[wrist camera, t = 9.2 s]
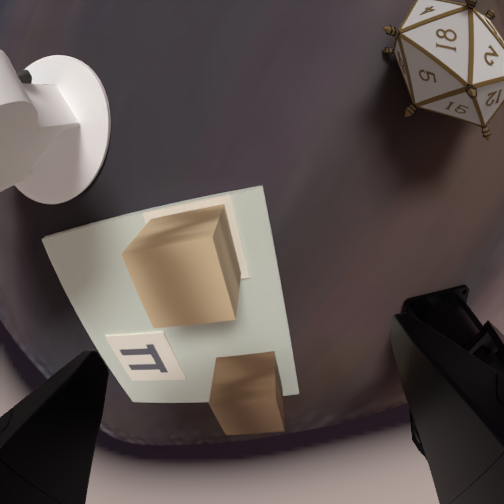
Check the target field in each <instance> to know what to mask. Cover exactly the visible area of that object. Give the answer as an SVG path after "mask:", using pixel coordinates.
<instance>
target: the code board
mask: <svg viewBox="0 0 504 504" xmlns="http://www.w3.org/2000/svg"><path fill="white" fill-rule="evenodd" d="M221 204H224V205H225V209H226V214H227V218H228V222H229V226H230V230H231V234H232V238H233V242H234V246H235V251H236V255H237V259H238V263H239V267H240V271H241V278H240V287H239V296H238V304H237V313H236V320H230V321H221V322H213V323H204V324H194V325H185V326H174V327H164V328H153V326H152V324H151V322H150V320H149V317H148V315H147V313H146V311H145V309H144V306H143V304H142V302H141V300H140V298H139V295H138V293H137V291H136V288H135V286H134V284H133V281H132V279H131V276H130V274H129V272H128V269H127V267H126V264H125V262H124V259H123V257H122V253H123V252H124V250H125V249H126V248H127V247H128V245H129V244H130V243H131V242H132V241H133V239H134V238H135V237H136V236H137V235H138V234H139V232H140V231H141V230H142V229H143V228H144V226H145V225H146V224H147V223H148V222H149V221H150V220H151V219H154V218H158V217H163V216H167V215H172V214H177V213H181V212H186V211H191V210H196V209H201V208H206V207H211V206H216V205H221ZM41 240H42V242H43V244H44V247H45V249H46V251H47V254H48V256H49V258H50V261H51V263H52V265H53V267H54V269H55V272H56V274H57V276H58V278H59V280H60V282H61V284H62V286H63V288H64V290H65V292H66V294H67V296H68V298H69V300H70V302H71V304H72V306H73V308H74V310H75V311H76V313H77V315H78V317H79V319H80V320H81V322H82V324H83V326H84V328H85V329H86V331H87V333H88V334H89V336H90V338H91V340H92V341H93V343H94V345H95V346H96V348H97V349H98V351H99V353H100V354H101V356H102V357H103V359H104V361H105V362H106V364H107V365H108V367H109V368H110V370H111V371H112V373H113V374H114V376H115V377H116V379H117V380H118V382H119V383H120V384H121V386H122V387H123V389H124V390H125V392H126V393H127V394H128V396H129V397H130V398H131V400H132V401H133V402H149V403H196V402H209V399H210V392H211V386H212V380H213V374H214V367H215V361H216V358H217V357H227V356H237V355H246V354H255V353H263V352H271V351H274V352H275V356H276V361H277V365H278V369H279V374H280V378H281V383H282V388H283V396H288V395H295V394H299V388H298V382H297V375H296V369H295V363H294V357H293V351H292V345H291V339H290V333H289V327H288V321H287V315H286V309H285V304H284V298H283V292H282V286H281V281H280V275H279V270H278V264H277V259H276V253H275V248H274V242H273V237H272V231H271V226H270V221H269V216H268V210H267V205H266V200H265V195H264V190H263V185H262V186H256V187H251V188H245V189H240V190H235V191H229V192H224V193H219V194H214V195H209V196H204V197H199V198H195V199H190V200H185V201H181V202H176V203H172V204H167V205H163V206H158V207H154V208H150V209H146V210H141V211H137V212H133V213H129V214H125V215H121V216H117V217H113V218H109V219H105V220H101V221H98V222H94V223H90V224H87V225H83V226H79V227H76V228H72V229H68V230H65V231H61V232H58V233H55V234H51V235H48V236H45V237H44V238H42V239H41Z"/></svg>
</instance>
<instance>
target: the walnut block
mask: <svg viewBox="0 0 504 504" xmlns="http://www.w3.org/2000/svg"><path fill="white" fill-rule="evenodd" d="M209 405H210V407H211V409H212V411H213V413H214V415H215V416H216V418H217V420H218V422H219V424H220V425H221V427H222V429H223V431H224V432H225V434H226V435H241V434H257V433H269V432H279V431H284V409H283V388H282V383H281V378H280V374H279V369H278V365H277V361H276V356H275V352H274V351H271V352H263V353H255V354H246V355H237V356H227V357H217V358H216V361H215V367H214V374H213V380H212V386H211V392H210V399H209Z"/></svg>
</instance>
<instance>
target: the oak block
mask: <svg viewBox="0 0 504 504" xmlns="http://www.w3.org/2000/svg"><path fill="white" fill-rule="evenodd" d="M122 257H123V259H124V262H125V264H126V267H127V269H128V272H129V274H130V276H131V279H132V281H133V284H134V286H135V288H136V291H137V293H138V295H139V298H140V300H141V302H142V304H143V306H144V309H145V311H146V313H147V315H148V317H149V320H150V322H151V324H152V326H153V328H164V327H174V326H185V325H194V324H204V323H213V322H221V321H230V320H236V313H237V304H238V296H239V287H240V278H241V271H240V267H239V263H238V259H237V255H236V251H235V246H234V242H233V238H232V234H231V230H230V226H229V222H228V218H227V214H226V209H225V205H224V204H221V205H216V206H211V207H206V208H201V209H196V210H191V211H186V212H181V213H177V214H172V215H167V216H163V217H158V218H154V219H151V220H150V221H149V222H148V223H147V224H146V225H145V226H144V228H143V229H142V230H141V231H140V232H139V234H138V235H137V236H136V237H135V238H134V239H133V241H132V242H131V243H130V244H129V245H128V247H127V248H126V249H125V250H124V252H123V253H122Z"/></svg>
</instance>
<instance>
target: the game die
mask: <svg viewBox="0 0 504 504" xmlns="http://www.w3.org/2000/svg"><path fill="white" fill-rule="evenodd" d="M465 1H466V2H467V5H466V4H462V3H457V2H452V1H447V0H415V2H414V3H413V5H412V7H411V8H410V10H409V12H408V13H407V15H406V17H405V19H404V20H403V22H402V24H401V25H400V27H399V29H398V30H397V29H396V28H395V27H392V26H391V25H389V26H387V27H384V28H383V29H384V31H385V32H386V34H388V35H392V36H396V37H395V43H394V49H392V48H389V47H385V49H383V50H382V51H383V52H385V53H386V54H387V55H392V54H394V55H395V58H396V60H397V63H398V65H399V68H400V70H401V73H402V75H403V78H404V81H405V83H406V86H407V89H408V92H409V95H410V97H411V100H412V105H410V106H409V105H408V108H407V109H406V108H405V109H406V112H405V117H407V116H411V115H412V116H413V113H415V110H416V108H420V109H424V110H428V111H432V112H435V113H439V114H442V115H446V116H449V117H453V118H456V119H459V120H462V121H465V122H468V123H471V124H474V125H477V126H480V127H481V128H482V133H483V137H485V138H486V140H487V141H488V142H489V140H490V135H491V134H490V132H489V131H490V130H488V128H487V124H488V123H489V121H490V120H491V119H492V118H493V116H494V115H495V114H496V112H497V111H498V109H499V108H500V107H501V105H502V104H503V103H504V40H503V38H502V36H501V35H500V33H499V32H498V30H497V29H496V27H495V26H494V25H493V23H492V22H491V19H493V18H495V15H494V11H490V10H488V11H487V13H486V16H485V15H484V14H482V13H481V12H479V11H478V10H476V9H474V8H473V7H475V5H476V3H477V0H465Z"/></svg>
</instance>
